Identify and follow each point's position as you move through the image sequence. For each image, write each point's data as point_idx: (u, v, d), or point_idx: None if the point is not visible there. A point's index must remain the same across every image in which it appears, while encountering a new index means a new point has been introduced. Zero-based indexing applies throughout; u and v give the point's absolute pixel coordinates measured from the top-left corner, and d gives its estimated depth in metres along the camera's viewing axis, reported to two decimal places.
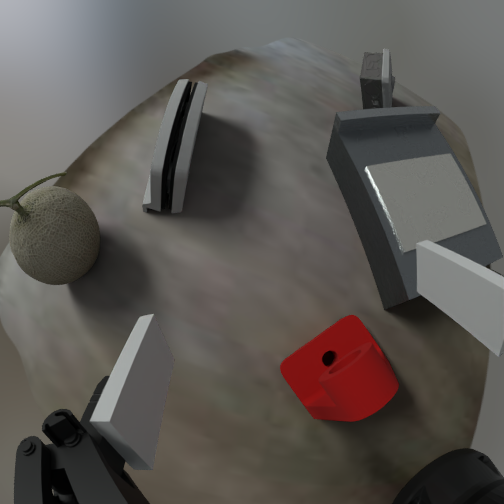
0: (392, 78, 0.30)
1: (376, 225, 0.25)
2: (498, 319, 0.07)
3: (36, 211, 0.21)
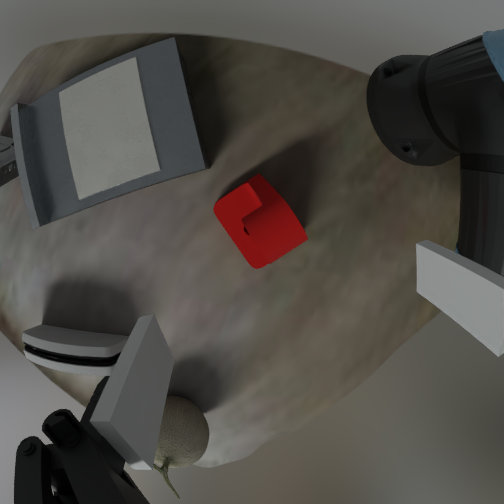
0: None
1: (133, 190, 0.26)
2: (498, 319, 0.07)
3: (163, 452, 0.29)
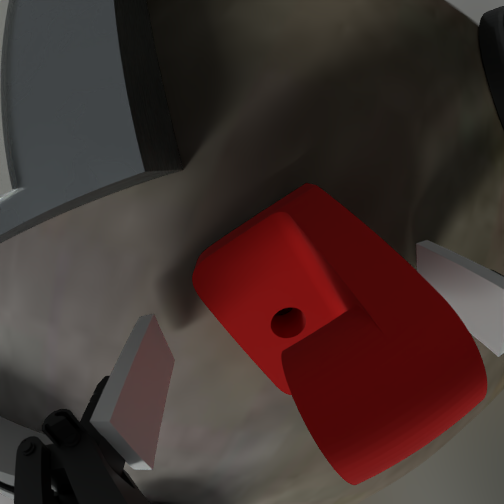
0: None
1: None
2: (498, 319, 0.07)
3: None
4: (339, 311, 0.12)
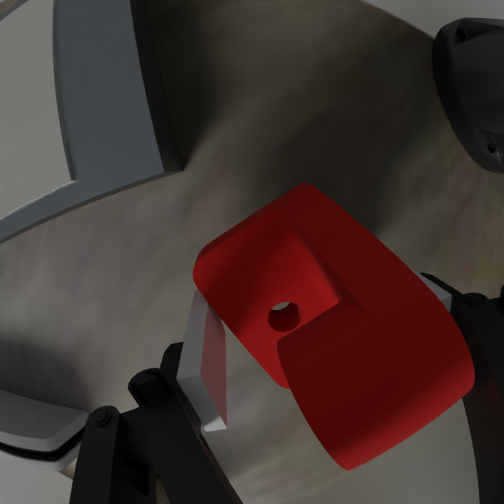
0: None
1: (38, 221, 0.11)
2: None
3: None
4: None
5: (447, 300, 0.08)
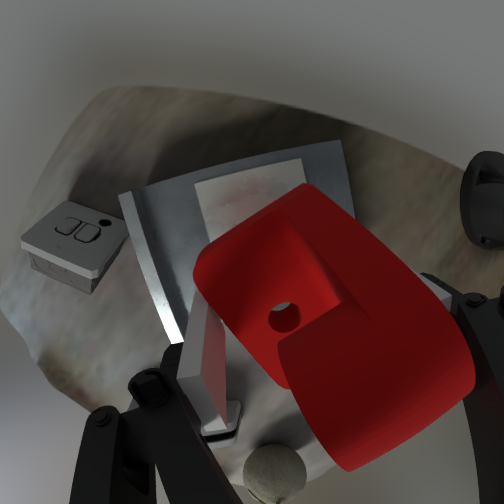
0: (63, 231, 0.23)
1: None
2: None
3: (277, 495, 0.31)
4: (334, 307, 0.12)
5: (447, 300, 0.08)
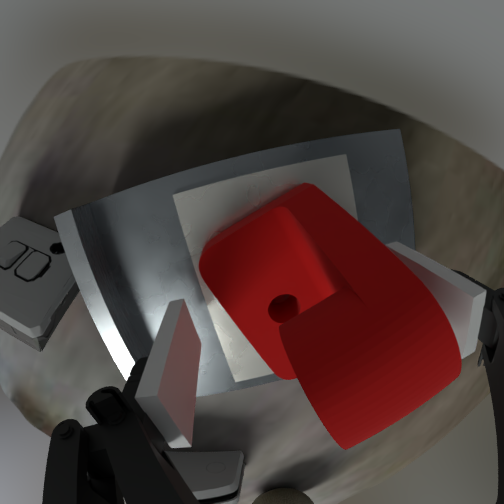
0: (1, 263, 0.14)
1: None
2: (460, 321, 0.08)
3: None
4: None
5: (482, 295, 0.07)
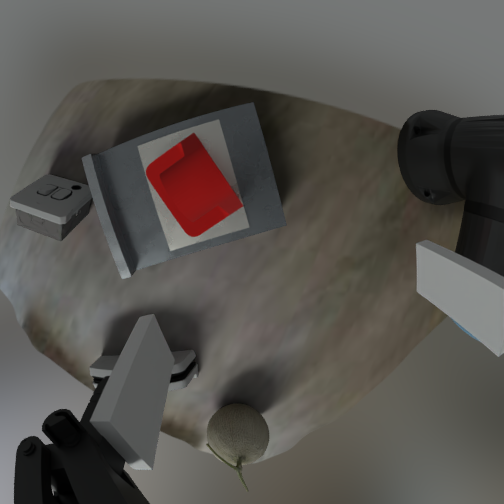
0: (43, 192, 0.27)
1: None
2: (498, 319, 0.07)
3: (237, 453, 0.36)
4: None
5: None
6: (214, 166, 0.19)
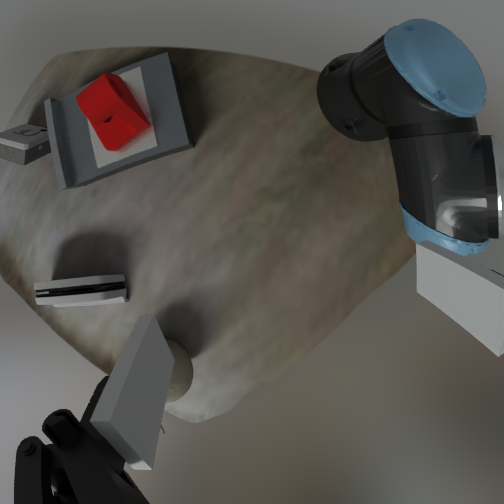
0: (17, 132, 0.30)
1: (138, 161, 0.35)
2: (498, 319, 0.07)
3: None
4: None
5: None
6: (106, 81, 0.22)
